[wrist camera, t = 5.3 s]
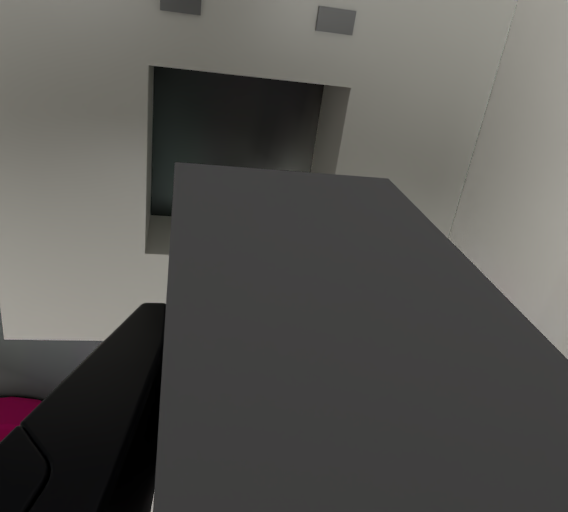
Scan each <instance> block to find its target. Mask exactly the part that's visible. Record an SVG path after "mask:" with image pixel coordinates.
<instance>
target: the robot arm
mask: <svg viewBox="0 0 568 512" xmlns="http://www.w3.org/2000/svg"><path fill="white" fill-rule="evenodd" d="M165 313H166V303H143V304H141V305H140V306H139V307H138V308H137V309H136V310H135V311H134V312H133V313H132V314H131V315H130V316H129V317H128V318H127V319H126V320H125V321H124V322H123V323H122V324H121V325H120V326H119V327H118V328H116V329H115V330H114V331H113V332H112V333H111V334H110V335H109V336H108V337H107V338H106V339H105V340H104V341H103V342H102V343H101V344H100V345H99V346H98V347H97V348H96V349H95V350H94V351H93V352H92V353H91V354H90V355H89V356H88V357H87V358H86V359H85V360H84V361H83V362H82V363H81V364H80V365H79V366H78V367H77V368H76V369H75V370H74V371H73V372H72V373H71V374H69V375H68V376H67V377H66V378H65V379H64V380H63V381H62V382H61V383H60V384H59V385H58V386H57V387H56V388H55V389H54V390H53V391H52V392H51V393H50V394H49V395H48V396H47V397H46V398H45V399H44V400H43V401H42V402H41V403H40V404H39V405H38V406H37V407H36V408H35V409H34V410H33V411H32V412H31V413H30V414H29V415H28V416H27V417H26V418H25V419H24V420H23V421H21V423H20V426H16V427H15V428H14V429H13V430H12V431H11V432H10V433H9V434H8V435H7V436H6V437H5V438H4V439H3V440H2V441H1V442H0V512H150V511H151V505H152V500H153V494H154V489H155V475H156V459H157V443H158V426H159V410H160V394H161V378H162V362H163V345H164V329H165Z"/></svg>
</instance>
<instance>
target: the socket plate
mask: <svg viewBox="0 0 568 512" xmlns="http://www.w3.org/2000/svg"><path fill="white" fill-rule="evenodd" d="M517 2H518V0H0V308H1V317H2V325H3V334H4V340H84V341H104V340H105V339H106V338H107V337H108V336H109V335H110V334H111V333H112V332H113V331H114V330H115V329H116V328H118V327H119V326H120V325H121V324H122V323H123V322H124V321H125V320H126V319H127V318H128V317H129V316H130V315H131V314H132V313H133V312H134V311H135V310H136V309H137V308H138V307H139V306H140V305H141V304H143V303H166V297H167V281H168V265H169V248H170V232H171V216H157V215H151V174H152V132H153V89H154V66H160V67H169V68H178V69H187V70H196V71H205V72H214V73H223V74H232V75H240V76H249V77H258V78H267V79H276V80H285V81H294V82H303V83H312V84H321V85H324V89H323V96H322V102H321V108H320V114H319V121H318V127H317V133H316V140H315V146H314V152H313V158H312V165H311V171H310V172H311V173H324V174H337V175H350V176H363V177H376V178H388V179H390V181H391V182H392V183H393V184H394V185H395V186H396V187H397V188H398V189H399V190H400V191H401V192H402V193H403V194H404V195H405V196H406V197H407V198H408V199H409V200H410V201H411V202H412V203H413V204H414V205H415V206H416V207H417V208H418V209H419V210H420V211H421V212H422V213H423V214H424V215H425V216H426V217H427V218H428V219H429V220H430V221H431V222H432V223H433V224H434V225H435V226H436V227H437V228H438V229H439V230H440V231H441V232H442V233H443V234H444V235H445V236H446V237H447V238H449V234H450V231H451V228H452V224H453V221H454V217H455V214H456V211H457V207H458V204H459V200H460V197H461V193H462V190H463V187H464V183H465V180H466V176H467V173H468V170H469V166H470V163H471V159H472V156H473V153H474V149H475V146H476V142H477V139H478V135H479V132H480V129H481V125H482V122H483V118H484V115H485V112H486V108H487V105H488V101H489V98H490V95H491V91H492V88H493V84H494V81H495V78H496V74H497V71H498V67H499V64H500V60H501V57H502V54H503V50H504V47H505V43H506V40H507V37H508V33H509V30H510V26H511V23H512V20H513V16H514V13H515V9H516V6H517Z"/></svg>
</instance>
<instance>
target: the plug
mask: <svg viewBox="0 0 568 512" xmlns="http://www.w3.org/2000/svg"><path fill="white" fill-rule="evenodd" d="M153 512H568V359H567V358H566V357H565V356H564V355H563V354H562V353H561V352H560V351H559V350H558V349H557V348H556V347H555V346H554V345H553V344H552V343H551V342H550V341H549V340H548V339H547V338H546V337H545V336H544V335H543V334H542V333H541V332H540V331H539V330H538V329H537V328H536V327H535V326H534V325H533V324H532V323H531V322H530V321H529V320H528V319H527V318H526V317H525V316H524V315H523V314H522V313H521V312H520V311H519V310H518V309H517V308H516V307H515V306H514V305H513V304H512V303H511V302H510V301H509V300H508V299H507V298H506V297H505V296H504V295H503V294H502V293H501V292H500V291H499V290H498V289H497V288H496V287H495V286H494V285H493V284H492V283H491V282H490V281H489V280H488V279H487V278H486V277H485V276H484V275H483V274H482V273H481V272H480V271H479V269H478V268H477V267H476V266H475V265H474V264H473V263H472V262H471V261H470V260H469V259H468V258H467V257H466V256H465V255H464V254H463V253H462V252H461V251H460V250H459V249H458V248H457V247H456V246H455V245H454V244H453V243H452V242H451V241H450V240H449V239H448V238H447V237H446V236H445V235H444V234H443V233H442V232H441V231H440V230H439V229H438V228H437V227H436V226H435V225H434V224H433V223H432V222H431V221H430V220H429V219H428V218H427V217H426V216H425V215H424V214H423V213H422V212H421V211H420V210H419V209H418V208H417V207H416V206H415V205H414V204H413V203H412V202H411V201H410V200H409V199H408V198H407V197H406V196H405V195H404V194H403V193H402V192H401V191H400V190H399V189H398V188H397V187H396V186H395V185H394V184H393V183H392V182H391V181H390V179H388V178H376V177H363V176H350V175H337V174H324V173H311V172H298V171H285V170H272V169H259V168H246V167H233V166H220V165H207V164H194V163H181V162H175V167H174V184H173V200H172V216H171V232H170V248H169V265H168V281H167V297H166V313H165V329H164V345H163V362H162V378H161V394H160V410H159V426H158V443H157V459H156V475H155V491H154V507H153Z"/></svg>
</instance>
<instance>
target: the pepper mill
mask: <svg viewBox="0 0 568 512" xmlns="http://www.w3.org/2000/svg"><path fill="white" fill-rule="evenodd" d="M41 402H42V401H40V400H36V399H28V398H20V397H4V398H0V442H1V441H2V440H3V439H4V438H5V437H6V436H7V435H8V434H9V433H10V432H11V431H12V430H13V429H14V428H15V427H16V426H20V423H21V421H23V420H24V419H25V418H26V417H27V416H28V415H29V414H30V413H31V412H32V411H33V410H34V409H35V408H36V407H37V406H38V405H39V404H40V403H41Z"/></svg>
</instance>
